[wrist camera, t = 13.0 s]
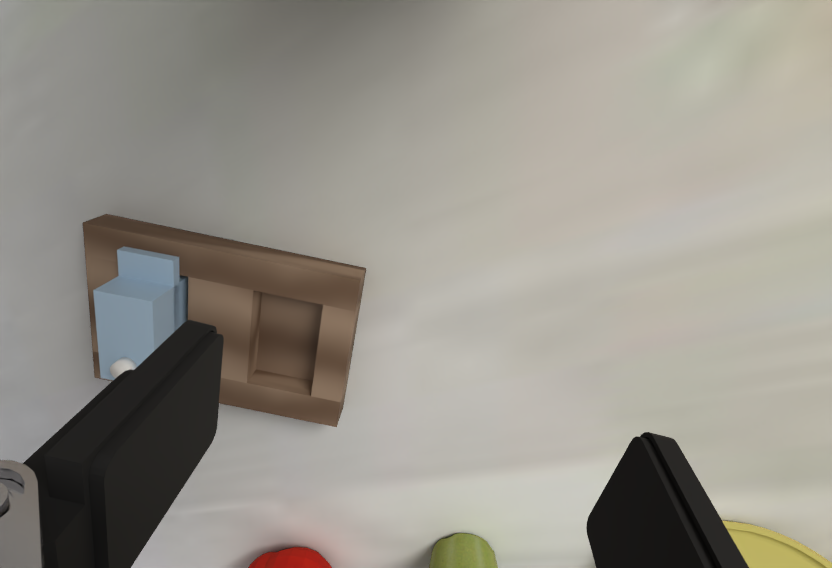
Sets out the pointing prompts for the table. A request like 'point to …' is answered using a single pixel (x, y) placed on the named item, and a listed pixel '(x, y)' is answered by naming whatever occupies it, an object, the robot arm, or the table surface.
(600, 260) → the table surface
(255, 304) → the tray
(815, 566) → the plastic component
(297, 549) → the tomato
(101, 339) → the light blue drawer box
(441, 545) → the plant pot
